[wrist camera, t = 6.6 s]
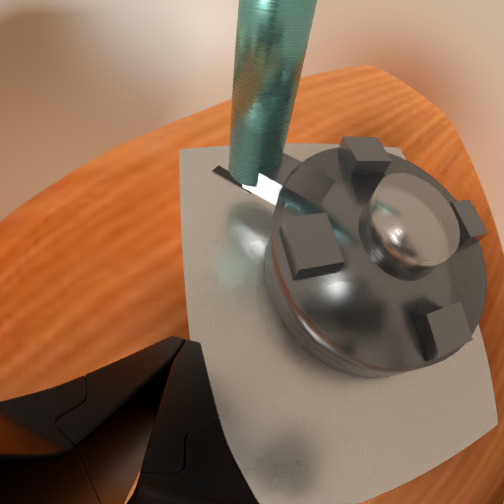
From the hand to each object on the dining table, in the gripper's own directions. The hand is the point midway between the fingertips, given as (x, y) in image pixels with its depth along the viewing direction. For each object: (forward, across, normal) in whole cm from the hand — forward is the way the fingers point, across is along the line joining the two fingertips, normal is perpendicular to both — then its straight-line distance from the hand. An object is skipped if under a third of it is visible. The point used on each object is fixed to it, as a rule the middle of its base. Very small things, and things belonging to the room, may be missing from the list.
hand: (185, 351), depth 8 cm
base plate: (+9, -7, +1) cm, 11 cm away
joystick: (+9, -6, -2) cm, 11 cm away
